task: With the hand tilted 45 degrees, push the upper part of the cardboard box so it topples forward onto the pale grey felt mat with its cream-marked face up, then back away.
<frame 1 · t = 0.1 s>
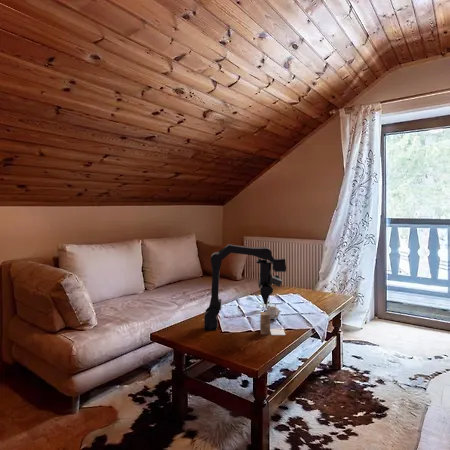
hand: (264, 301, 182), 15 cm above the table, tool pointing down, fingers open, 9 cm apart
felt mat: (277, 332, 179), on the table
beige lumpy ball: (272, 319, 198), on the table
cardboard box: (265, 332, 179), on the table
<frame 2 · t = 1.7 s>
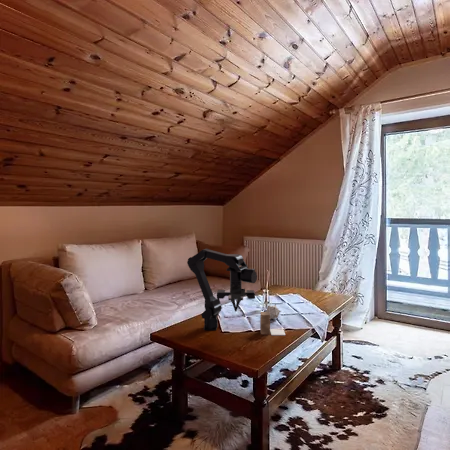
hand: (235, 311, 175), 12 cm above the table, tool pointing down, fingers closed
nothing on the table moved.
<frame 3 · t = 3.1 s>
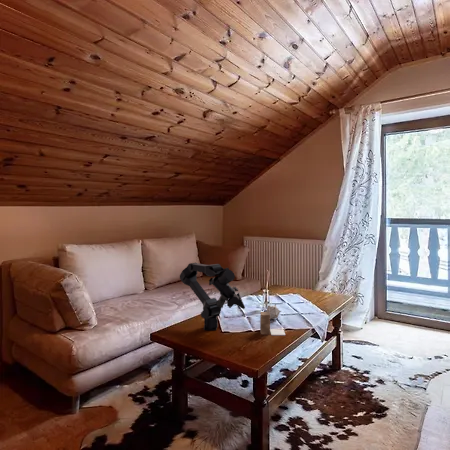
hand: (244, 308, 178), 12 cm above the table, tool tilted 45°, fingers closed
nothing on the table moved.
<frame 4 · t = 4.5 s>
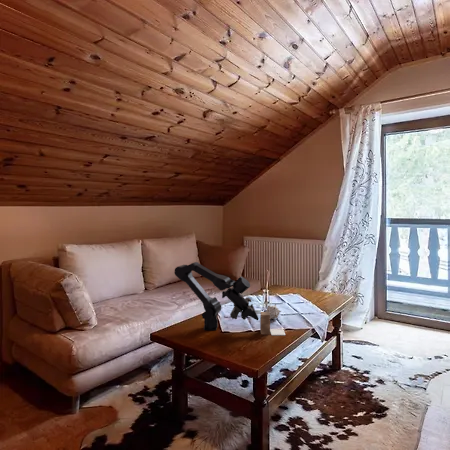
hand: (258, 319, 178), 7 cm above the table, tool tilted 45°, fingers closed
nothing on the table moved.
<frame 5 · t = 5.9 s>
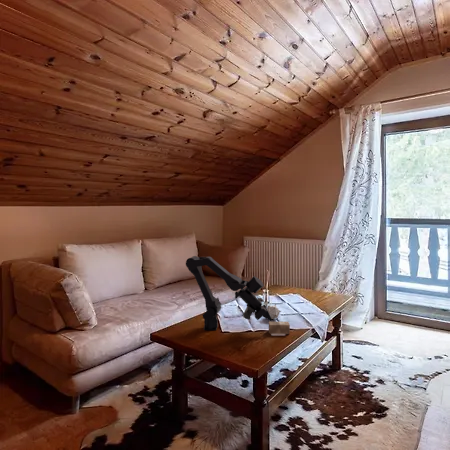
hand: (270, 319, 178), 7 cm above the table, tool tilted 45°, fingers closed
cardboard box: (269, 327, 178), point 3 cm above the table, tilted 90°, touching felt mat
everything else where it was.
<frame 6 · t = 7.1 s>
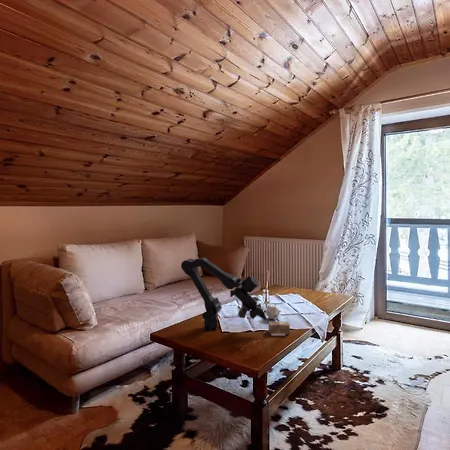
hand: (265, 318, 178), 7 cm above the table, tool tilted 45°, fingers closed
nothing on the table moved.
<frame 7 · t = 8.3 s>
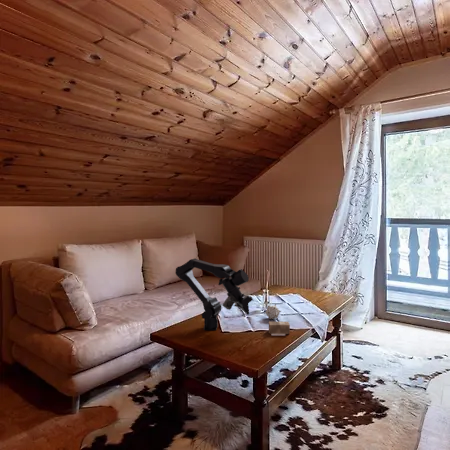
hand: (248, 314, 178), 10 cm above the table, tool tilted 30°, fingers closed
nothing on the table moved.
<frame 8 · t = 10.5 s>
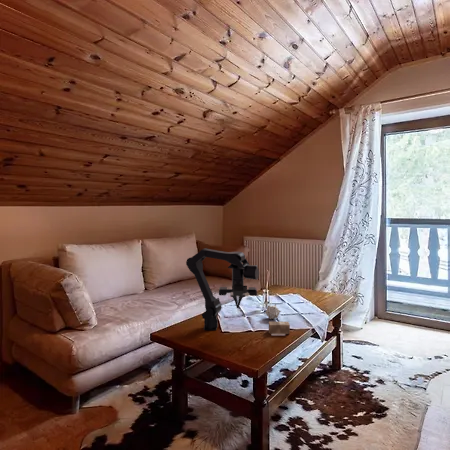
hand: (237, 307, 177), 13 cm above the table, tool pointing down, fingers closed
nothing on the table moved.
at the end: cardboard box tilted 90°; cardboard box inside the target area (5.5 cm from its centre), point 2.6 cm above the table; the gripper is holding nothing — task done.
